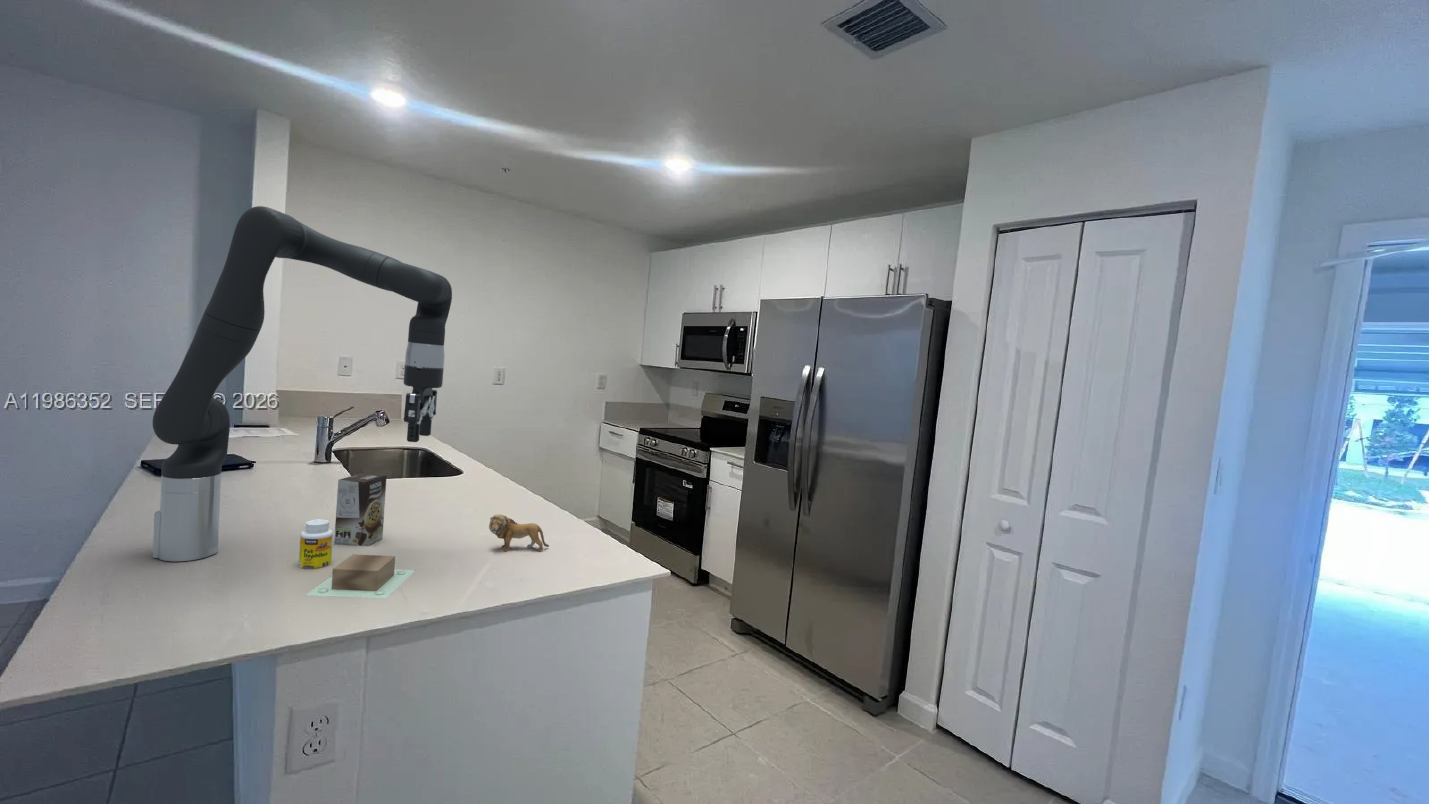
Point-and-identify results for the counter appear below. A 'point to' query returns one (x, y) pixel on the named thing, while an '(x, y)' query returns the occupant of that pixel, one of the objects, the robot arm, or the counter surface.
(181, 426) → the robot arm
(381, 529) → the coffee box
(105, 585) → the counter surface
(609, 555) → the counter surface
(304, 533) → the supplement bottle
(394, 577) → the plate
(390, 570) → the walnut block
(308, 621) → the counter surface
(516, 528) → the lion figurine
